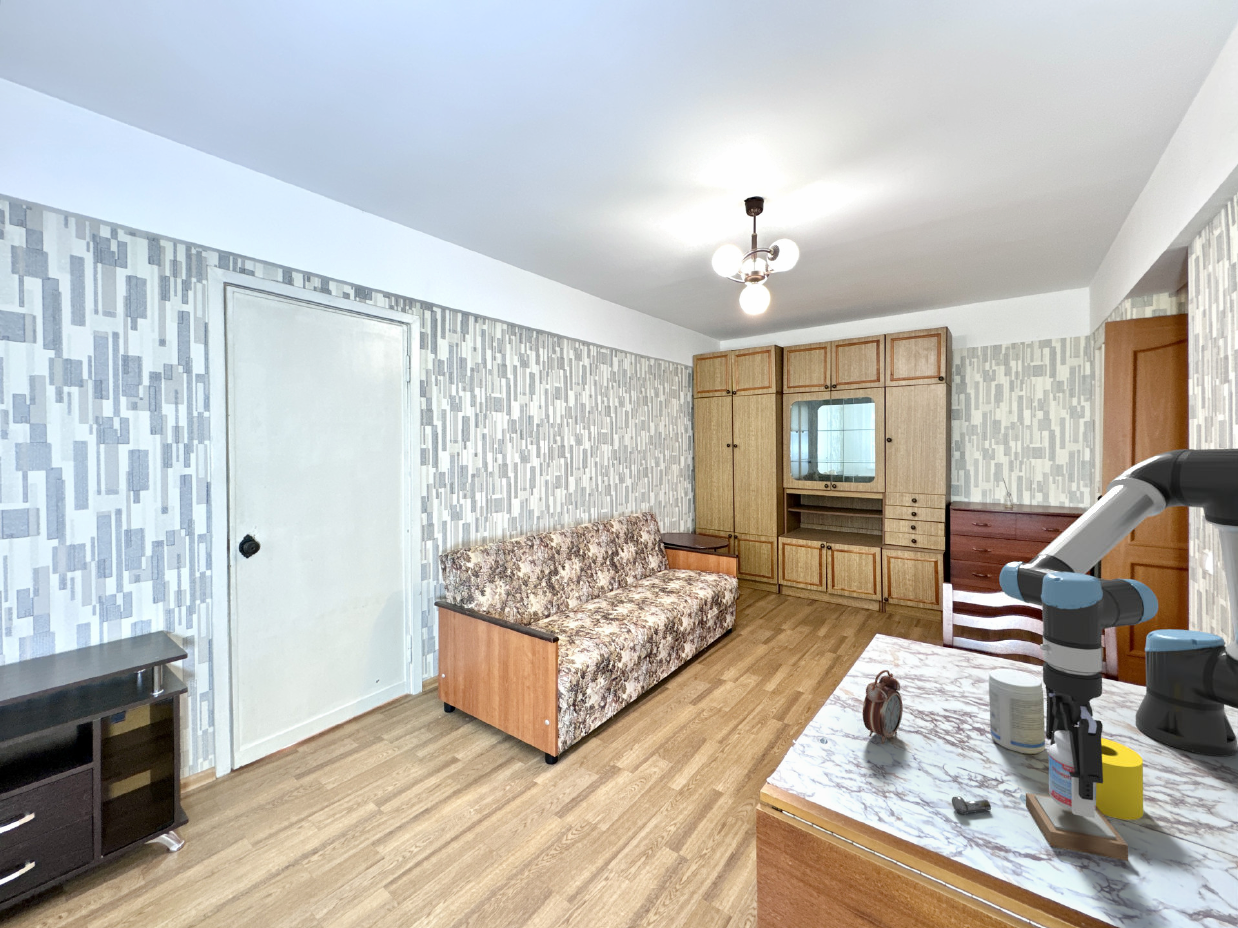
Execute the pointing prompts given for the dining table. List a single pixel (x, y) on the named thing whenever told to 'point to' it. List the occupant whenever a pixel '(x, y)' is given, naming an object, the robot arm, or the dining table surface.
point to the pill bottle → (1062, 770)
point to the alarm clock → (883, 706)
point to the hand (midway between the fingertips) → (1072, 800)
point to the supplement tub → (1017, 710)
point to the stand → (1076, 829)
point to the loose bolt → (969, 805)
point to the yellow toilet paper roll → (1120, 782)
